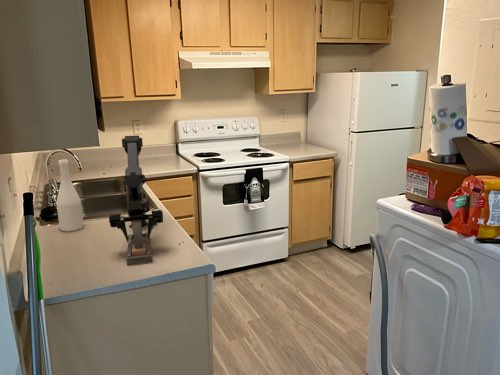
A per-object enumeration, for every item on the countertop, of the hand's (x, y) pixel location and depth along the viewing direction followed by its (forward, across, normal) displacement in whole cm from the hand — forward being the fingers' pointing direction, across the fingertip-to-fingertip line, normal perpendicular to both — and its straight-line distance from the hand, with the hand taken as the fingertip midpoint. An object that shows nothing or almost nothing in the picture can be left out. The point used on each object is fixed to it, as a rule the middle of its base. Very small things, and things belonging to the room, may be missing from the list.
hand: (138, 239), depth 145 cm
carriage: (+3, 0, +5) cm, 6 cm away
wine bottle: (-23, -28, +33) cm, 49 cm away
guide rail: (0, 0, +9) cm, 9 cm away
